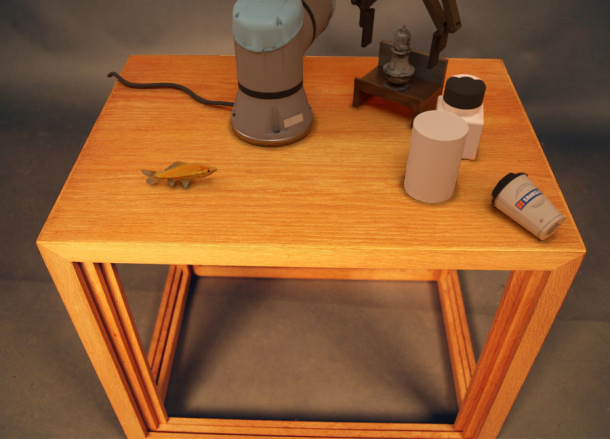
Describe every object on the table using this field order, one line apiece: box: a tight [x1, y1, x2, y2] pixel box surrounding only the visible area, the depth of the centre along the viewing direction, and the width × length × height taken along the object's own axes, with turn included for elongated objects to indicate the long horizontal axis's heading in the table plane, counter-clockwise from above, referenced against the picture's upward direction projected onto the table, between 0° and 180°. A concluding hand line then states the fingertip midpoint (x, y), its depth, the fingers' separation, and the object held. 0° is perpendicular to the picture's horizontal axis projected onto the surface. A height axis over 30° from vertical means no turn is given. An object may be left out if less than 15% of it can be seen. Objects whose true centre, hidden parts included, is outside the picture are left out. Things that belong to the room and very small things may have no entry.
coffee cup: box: [491, 171, 566, 241], centre depth 85 cm, size 7×7×10 cm
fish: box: [140, 160, 218, 189], centre depth 91 cm, size 12×2×5 cm, turn 88°
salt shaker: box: [383, 24, 415, 93], centre depth 103 cm, size 6×6×12 cm
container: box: [436, 73, 487, 161], centre depth 97 cm, size 8×8×13 cm
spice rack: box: [352, 39, 449, 129], centre depth 107 cm, size 14×10×10 cm
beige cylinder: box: [403, 110, 469, 204], centre depth 89 cm, size 8×8×12 cm
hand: (398, 55), depth 103 cm, fingers open, 13 cm apart
